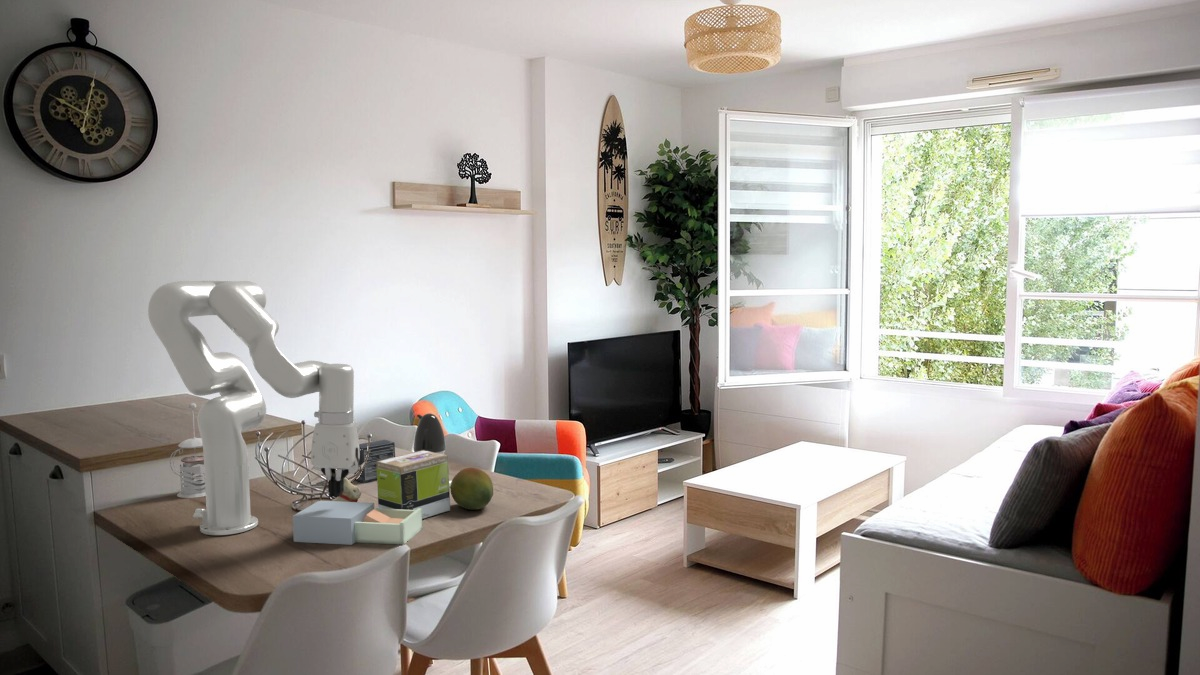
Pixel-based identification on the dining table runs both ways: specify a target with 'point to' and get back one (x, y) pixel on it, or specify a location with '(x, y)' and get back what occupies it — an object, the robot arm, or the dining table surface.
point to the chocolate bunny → (349, 492)
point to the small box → (374, 458)
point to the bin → (390, 527)
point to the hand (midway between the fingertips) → (336, 495)
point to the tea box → (414, 483)
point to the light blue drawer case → (329, 522)
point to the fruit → (472, 488)
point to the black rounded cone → (429, 435)
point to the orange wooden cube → (376, 517)
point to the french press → (191, 468)
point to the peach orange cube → (394, 520)
